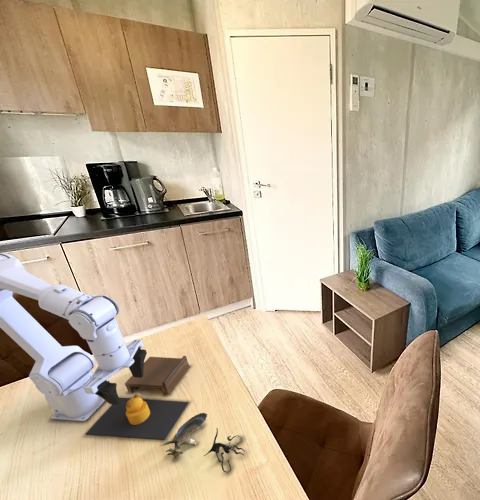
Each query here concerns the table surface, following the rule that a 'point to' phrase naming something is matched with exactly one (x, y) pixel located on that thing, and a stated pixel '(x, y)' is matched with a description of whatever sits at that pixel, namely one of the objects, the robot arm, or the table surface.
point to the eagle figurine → (185, 434)
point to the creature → (217, 446)
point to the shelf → (160, 374)
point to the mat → (151, 428)
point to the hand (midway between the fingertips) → (127, 389)
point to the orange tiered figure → (137, 410)
